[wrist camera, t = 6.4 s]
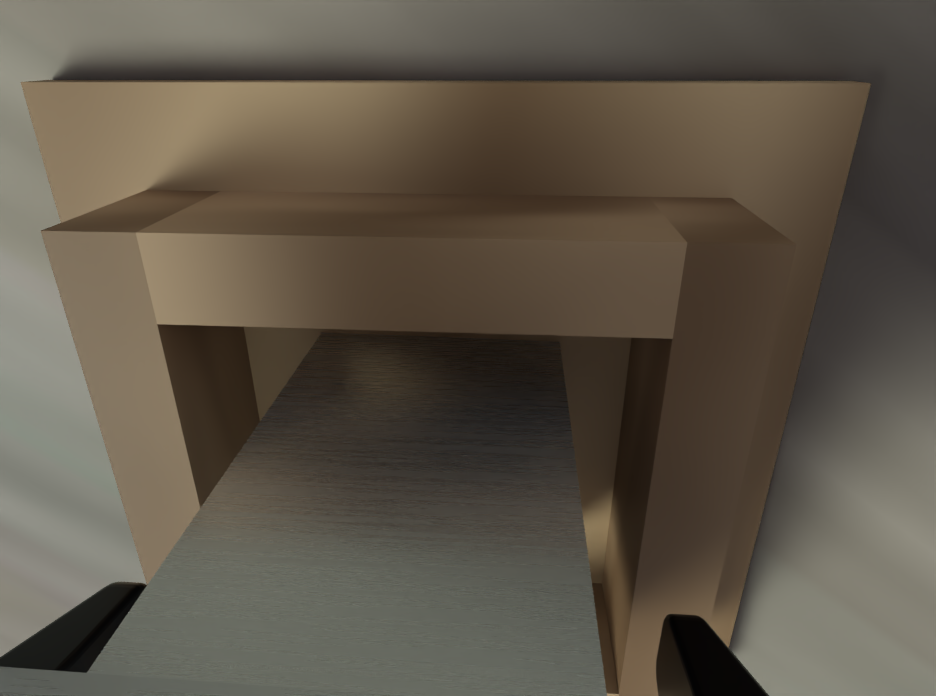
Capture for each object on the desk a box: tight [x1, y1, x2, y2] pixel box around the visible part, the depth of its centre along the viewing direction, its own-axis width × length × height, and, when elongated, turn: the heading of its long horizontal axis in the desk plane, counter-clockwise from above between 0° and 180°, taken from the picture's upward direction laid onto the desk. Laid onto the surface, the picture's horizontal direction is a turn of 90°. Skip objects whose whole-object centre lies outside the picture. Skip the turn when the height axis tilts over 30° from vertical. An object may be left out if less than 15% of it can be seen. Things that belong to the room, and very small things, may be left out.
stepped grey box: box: [0, 333, 607, 696], centre depth 8 cm, size 4×6×8 cm
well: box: [21, 80, 871, 696], centre depth 11 cm, size 12×12×3 cm
